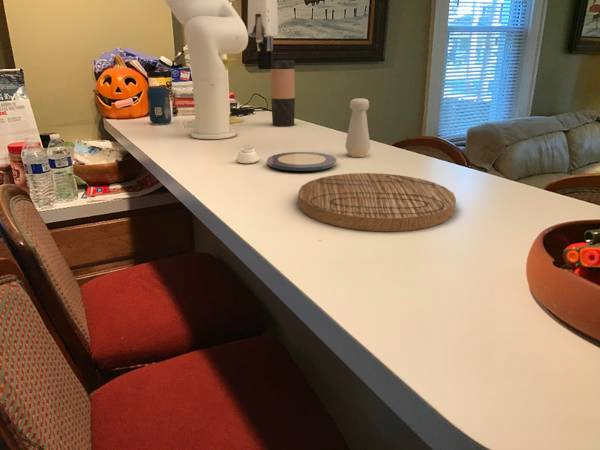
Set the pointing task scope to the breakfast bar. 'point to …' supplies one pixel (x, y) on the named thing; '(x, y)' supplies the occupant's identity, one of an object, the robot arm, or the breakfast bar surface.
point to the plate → (301, 161)
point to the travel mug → (283, 93)
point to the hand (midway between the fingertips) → (265, 68)
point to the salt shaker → (358, 129)
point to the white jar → (247, 156)
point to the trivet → (376, 202)
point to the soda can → (159, 105)
